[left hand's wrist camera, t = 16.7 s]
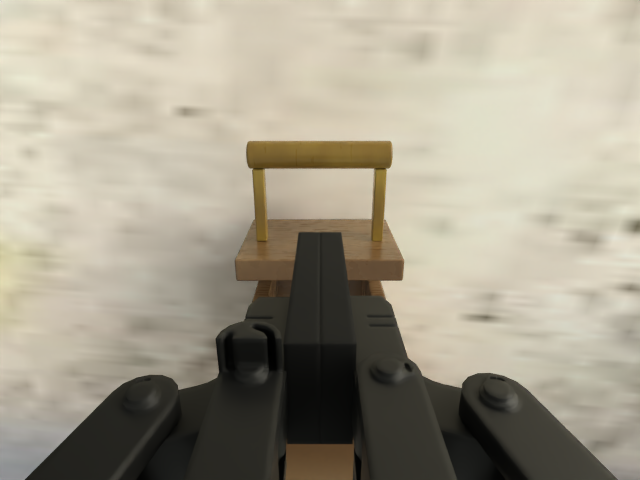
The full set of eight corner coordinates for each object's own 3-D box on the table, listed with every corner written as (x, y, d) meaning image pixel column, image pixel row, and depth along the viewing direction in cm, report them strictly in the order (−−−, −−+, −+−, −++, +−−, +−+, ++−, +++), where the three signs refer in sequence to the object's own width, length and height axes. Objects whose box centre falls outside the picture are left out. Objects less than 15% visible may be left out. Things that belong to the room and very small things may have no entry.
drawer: (248, 132, 25) (225, 150, 19) (390, 132, 25) (413, 150, 19) (267, 442, 34) (256, 521, 28) (372, 442, 34) (383, 521, 28)
